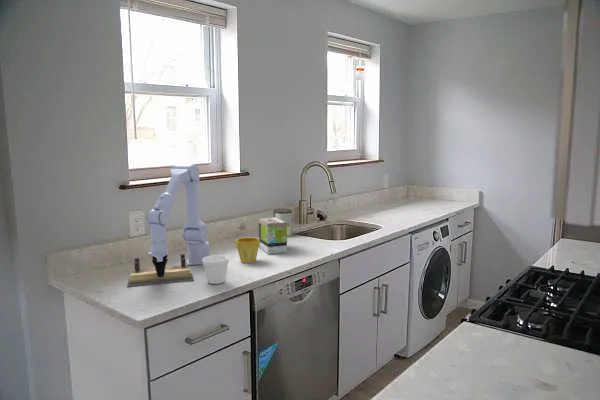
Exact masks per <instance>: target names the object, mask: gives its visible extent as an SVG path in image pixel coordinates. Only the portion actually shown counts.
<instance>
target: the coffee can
mask: <svg viewBox="0 0 600 400" xmlns="http://www.w3.org/2000/svg"><path fill="white" fill-rule="evenodd" d="M272 212H273V215H272V216H273V218H279V219H281V220H283V221H285V222H287V238H289V237H291V236H293V217H292V216H293V215H292V213H293V210H292V209H291V208H276V209H273V211H272Z"/></svg>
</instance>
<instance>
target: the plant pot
mask: <svg viewBox="0 0 600 400" xmlns="http://www.w3.org/2000/svg"><path fill="white" fill-rule="evenodd" d="M235 247H236V249H237V252H238V256H239V259H240V262H241V263H243V264H251V263H252V264H253V263H256V260H257V257H258V256H257V255H258V252H259V251H258V250H259V248H260V240H259V237H251V236H250V237H249V236H248V237H247V236H246V237H240V238H237V239H236V240H235Z"/></svg>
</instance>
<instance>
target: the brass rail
mask: <svg viewBox="0 0 600 400" xmlns="http://www.w3.org/2000/svg"><path fill="white" fill-rule="evenodd" d="M190 273H191V268H190V267H188V268H185V269H174V270H165V272H164V277H158V276H157V272H156V271H152V272H141V273H132V272H130V274H129V279H130V282H131V283H140V282H151V281H161V280H171V279H182V278H191V274H190Z"/></svg>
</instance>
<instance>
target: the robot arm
mask: <svg viewBox="0 0 600 400" xmlns="http://www.w3.org/2000/svg"><path fill="white" fill-rule="evenodd" d="M170 168H171V169H170V171H169V173H170V179H169V181H168V183H167V186H166V189H165V192H163V193H160V195H159V197H158V199H157V201H156V203H155V205H154V207H153V209H150V210H149V211H148V212H147V214H146V218H145V220H146V222H147V224H148V228H149V230H150V245H151V246H150V247H151V248H150V249H151V251H149V252H148V256H151V259H152V260H151V262H152V264H153V265H154V268H156V272H157V276H158V277H164V272H165V267H167V266H166V265H167V263H168V254H169V252H168V237H167V224H168V222H169V221H170V214H171V212H170V211H171V208H172V206H173V205H174V203H175V198H174V196H175V194H176V193H177V191H178V189H179V188H180V186H181V185H182V184H183V185H185V197H186V214H187V221H186V223H184V224H183V226H182V228H183V230H182V239H183V241H185V244H187V245H186V246H187V247H186V248H187V251H186V252H187V259H186V265H188V266H197V265H203V263H202V259H203V258H204V257H207V256H211V254H210V244H209V243H210V242H209V241H207V240H208V238H209V231H208V229H207V224H206V223H205V222H204V221H202V220H201V212H200V196H199V195H200V194H199V183H200V170H199V167H198V165H197V164H195V163H192V164H184V163H183V164H181V163H180V164H179V163H174V164H173V165H172V167H170Z"/></svg>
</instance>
